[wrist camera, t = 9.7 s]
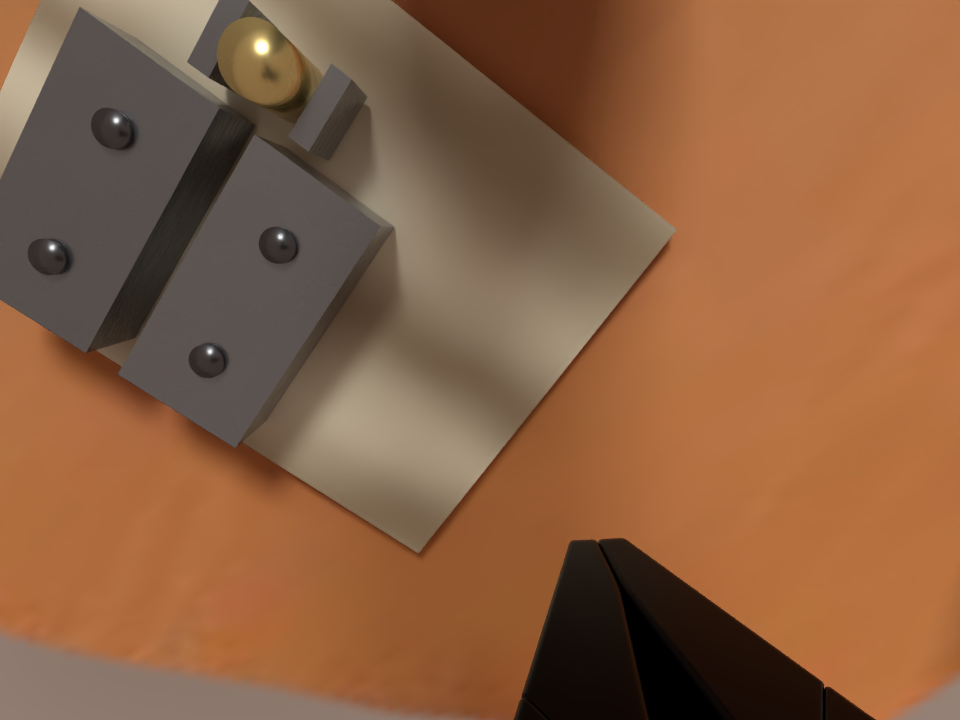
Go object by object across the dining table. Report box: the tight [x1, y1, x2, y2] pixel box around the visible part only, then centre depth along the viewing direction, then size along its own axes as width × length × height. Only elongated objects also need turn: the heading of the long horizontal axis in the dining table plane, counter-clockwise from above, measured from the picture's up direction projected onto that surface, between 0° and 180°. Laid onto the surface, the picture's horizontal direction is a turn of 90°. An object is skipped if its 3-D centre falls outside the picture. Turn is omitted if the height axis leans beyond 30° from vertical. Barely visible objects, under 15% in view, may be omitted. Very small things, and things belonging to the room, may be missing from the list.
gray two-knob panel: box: [118, 64, 394, 448], centre depth 17 cm, size 4×12×3 cm, turn 144°
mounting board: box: [0, 0, 677, 553], centre depth 18 cm, size 16×21×1 cm
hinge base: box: [0, 0, 323, 353], centre depth 16 cm, size 6×12×3 cm, turn 144°
